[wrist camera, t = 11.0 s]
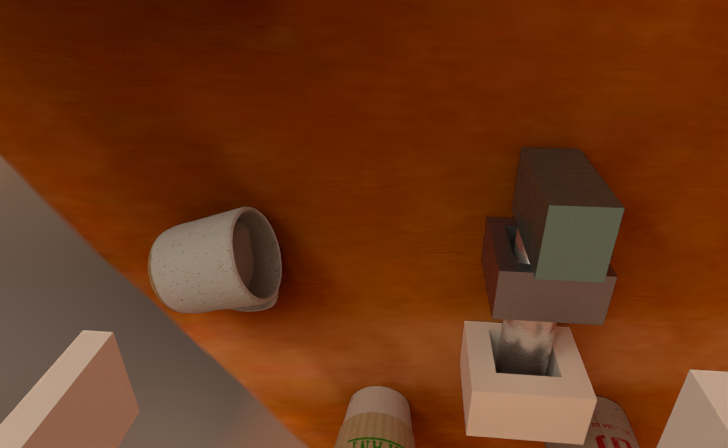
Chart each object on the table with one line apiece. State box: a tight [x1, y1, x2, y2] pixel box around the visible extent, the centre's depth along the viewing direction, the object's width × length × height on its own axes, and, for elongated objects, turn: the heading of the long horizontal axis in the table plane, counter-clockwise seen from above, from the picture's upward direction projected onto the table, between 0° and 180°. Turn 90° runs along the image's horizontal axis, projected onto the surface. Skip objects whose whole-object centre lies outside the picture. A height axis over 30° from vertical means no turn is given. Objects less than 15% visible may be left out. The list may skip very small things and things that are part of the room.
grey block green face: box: [495, 147, 625, 376], centre depth 36 cm, size 20×4×9 cm, turn 1°
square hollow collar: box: [481, 217, 617, 325], centre depth 36 cm, size 4×7×7 cm, turn 91°
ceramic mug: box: [148, 207, 282, 313], centre depth 40 cm, size 11×8×8 cm
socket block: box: [460, 321, 597, 445], centre depth 42 cm, size 5×9×8 cm, turn 90°
